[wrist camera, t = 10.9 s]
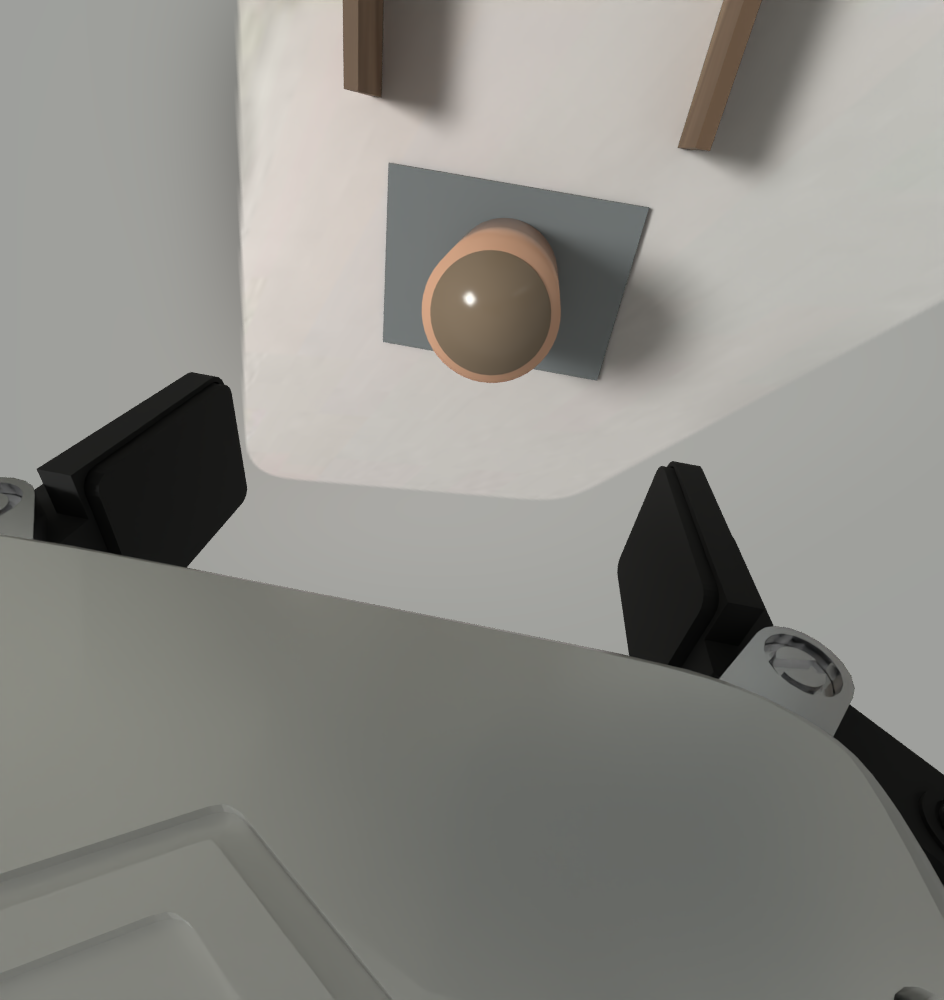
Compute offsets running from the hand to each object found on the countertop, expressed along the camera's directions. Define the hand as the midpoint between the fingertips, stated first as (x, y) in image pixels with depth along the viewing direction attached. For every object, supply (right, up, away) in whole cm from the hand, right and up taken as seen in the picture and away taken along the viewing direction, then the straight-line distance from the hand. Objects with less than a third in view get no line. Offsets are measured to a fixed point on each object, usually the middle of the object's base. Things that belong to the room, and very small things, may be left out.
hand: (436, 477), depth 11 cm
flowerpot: (+2, +11, +16) cm, 20 cm away
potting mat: (+2, +12, +16) cm, 20 cm away
